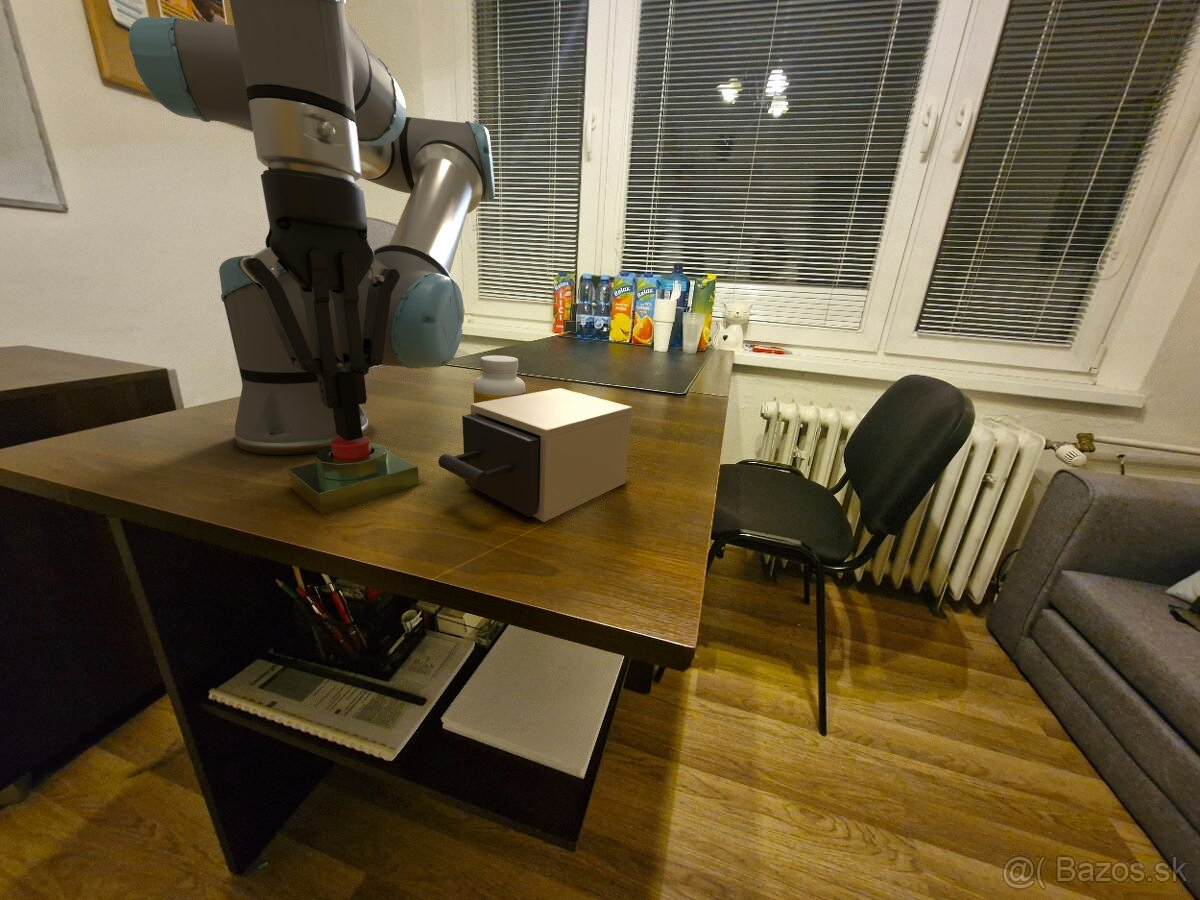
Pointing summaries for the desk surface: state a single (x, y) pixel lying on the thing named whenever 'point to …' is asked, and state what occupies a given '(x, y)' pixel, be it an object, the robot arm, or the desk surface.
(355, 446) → the button
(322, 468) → the block
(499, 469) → the drawer
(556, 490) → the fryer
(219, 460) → the desk surface
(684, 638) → the desk surface
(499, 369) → the supplement bottle
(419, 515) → the desk surface
